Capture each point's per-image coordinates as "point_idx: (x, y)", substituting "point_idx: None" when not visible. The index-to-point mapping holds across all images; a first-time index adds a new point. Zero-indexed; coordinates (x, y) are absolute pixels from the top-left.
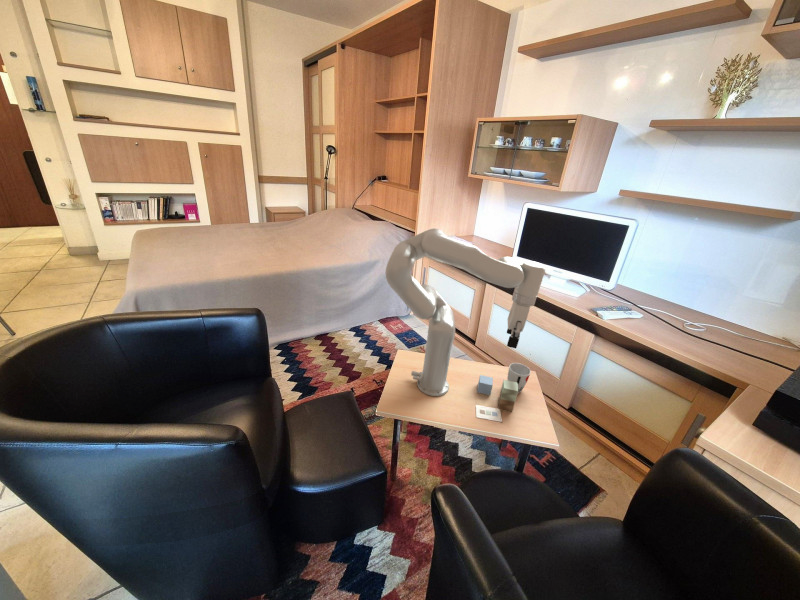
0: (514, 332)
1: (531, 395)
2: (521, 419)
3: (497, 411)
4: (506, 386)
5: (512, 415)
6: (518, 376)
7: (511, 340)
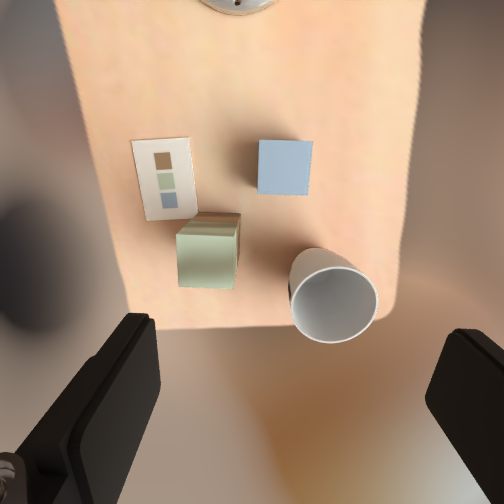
0: (448, 420)
1: None
2: None
3: (185, 209)
4: (189, 245)
5: None
6: (291, 294)
7: (41, 420)
